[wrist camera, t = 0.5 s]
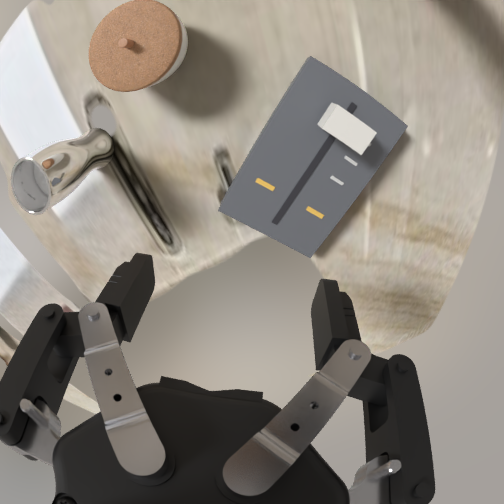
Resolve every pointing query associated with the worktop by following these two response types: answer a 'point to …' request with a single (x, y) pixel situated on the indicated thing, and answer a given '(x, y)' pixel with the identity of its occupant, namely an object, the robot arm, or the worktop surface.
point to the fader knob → (347, 128)
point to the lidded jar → (137, 46)
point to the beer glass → (58, 169)
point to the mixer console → (309, 161)
